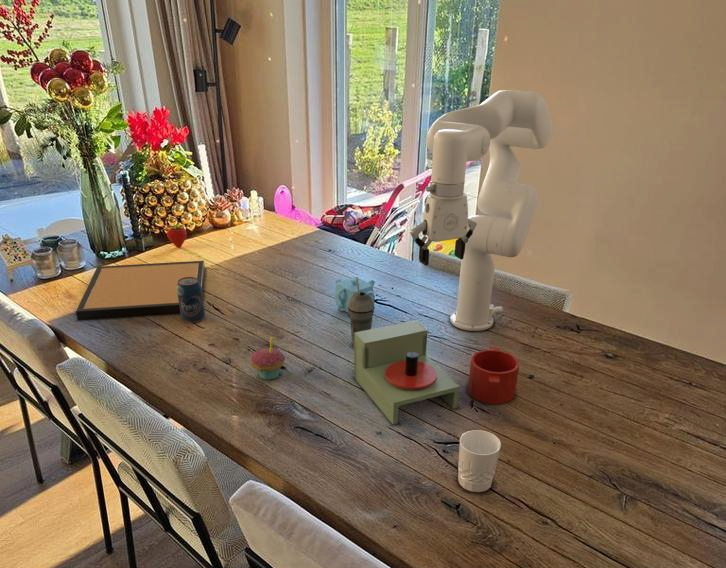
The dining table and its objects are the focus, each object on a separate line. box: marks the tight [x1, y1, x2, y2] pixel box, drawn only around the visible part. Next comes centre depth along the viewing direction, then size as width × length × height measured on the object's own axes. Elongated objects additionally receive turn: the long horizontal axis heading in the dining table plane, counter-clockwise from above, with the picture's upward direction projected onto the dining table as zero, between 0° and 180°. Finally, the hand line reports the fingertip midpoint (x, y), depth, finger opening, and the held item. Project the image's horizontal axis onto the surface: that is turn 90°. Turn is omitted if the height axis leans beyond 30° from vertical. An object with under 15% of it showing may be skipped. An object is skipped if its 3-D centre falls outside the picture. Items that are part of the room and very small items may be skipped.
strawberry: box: [166, 222, 188, 249], centre depth 234 cm, size 6×8×10 cm
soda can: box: [176, 277, 206, 324], centre depth 184 cm, size 7×7×12 cm
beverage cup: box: [347, 276, 375, 348], centre depth 169 cm, size 7×7×20 cm
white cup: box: [457, 429, 502, 493], centre depth 124 cm, size 8×8×10 cm
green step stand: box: [353, 319, 460, 425], centre depth 151 cm, size 22×17×13 cm
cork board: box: [75, 260, 206, 321], centre depth 202 cm, size 36×3×35 cm
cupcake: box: [250, 334, 286, 380], centre depth 157 cm, size 9×8×12 cm
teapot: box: [334, 276, 376, 314], centre depth 190 cm, size 18×14×10 cm
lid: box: [385, 352, 437, 389], centre depth 147 cm, size 12×12×6 cm
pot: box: [467, 346, 520, 405], centre depth 153 cm, size 11×17×8 cm
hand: (441, 260), depth 151 cm, fingers open, 9 cm apart
